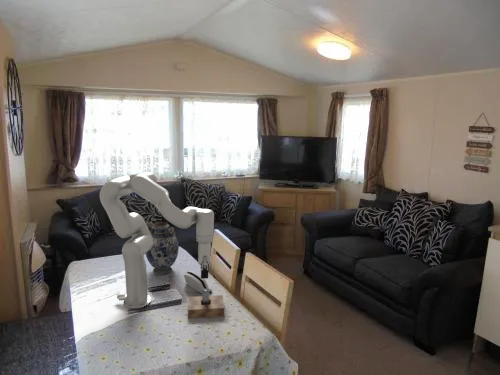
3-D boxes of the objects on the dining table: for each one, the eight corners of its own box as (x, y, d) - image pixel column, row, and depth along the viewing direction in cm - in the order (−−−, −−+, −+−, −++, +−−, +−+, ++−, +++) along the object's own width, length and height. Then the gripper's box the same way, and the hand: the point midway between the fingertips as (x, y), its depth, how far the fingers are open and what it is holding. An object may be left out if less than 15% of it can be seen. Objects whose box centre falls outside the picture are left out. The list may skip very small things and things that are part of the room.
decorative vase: (188, 269, 219) (186, 222, 213) (164, 281, 204) (162, 231, 198) (161, 261, 230) (158, 216, 225) (137, 272, 215) (134, 224, 209)
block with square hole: (187, 318, 168) (187, 310, 167) (188, 304, 180) (188, 296, 179) (224, 316, 170) (224, 307, 170) (222, 302, 182) (222, 295, 181)
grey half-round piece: (212, 292, 193) (207, 276, 188) (205, 297, 190) (199, 282, 186) (194, 281, 205) (188, 266, 201) (187, 286, 202) (181, 271, 198)
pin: (202, 312, 173) (202, 291, 171) (202, 308, 176) (202, 288, 174) (209, 311, 174) (209, 291, 172) (209, 308, 177) (208, 288, 175)
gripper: (196, 231, 176) (195, 265, 179) (196, 244, 159) (195, 282, 163) (212, 230, 177) (211, 265, 181) (214, 244, 160) (213, 281, 164)
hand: (204, 273), depth 172 cm, fingers open, 9 cm apart
